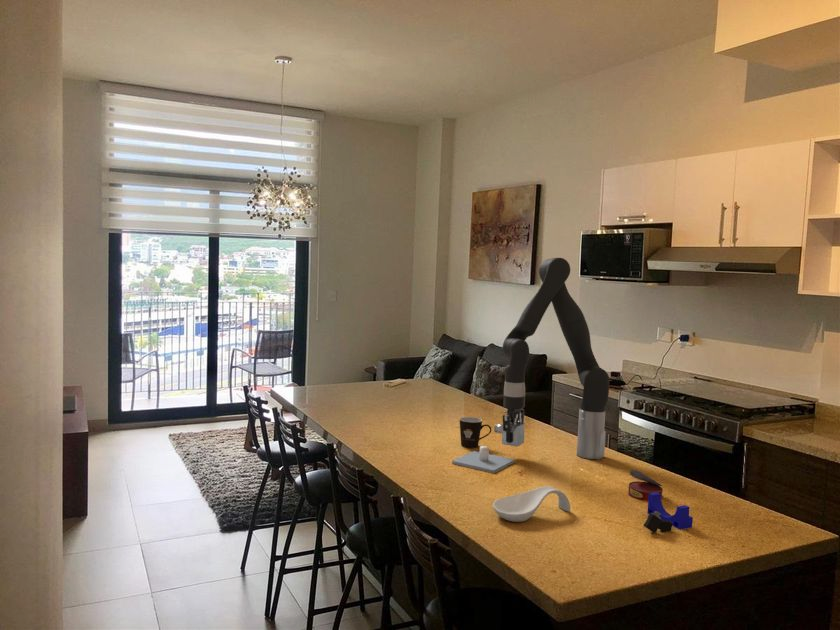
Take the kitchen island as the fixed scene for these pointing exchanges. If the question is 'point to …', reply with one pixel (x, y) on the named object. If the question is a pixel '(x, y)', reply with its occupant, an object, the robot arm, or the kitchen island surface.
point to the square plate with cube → (483, 460)
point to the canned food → (643, 486)
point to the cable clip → (678, 519)
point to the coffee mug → (471, 431)
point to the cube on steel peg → (517, 434)
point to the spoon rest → (527, 503)
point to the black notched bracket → (657, 523)
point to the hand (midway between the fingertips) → (513, 440)
